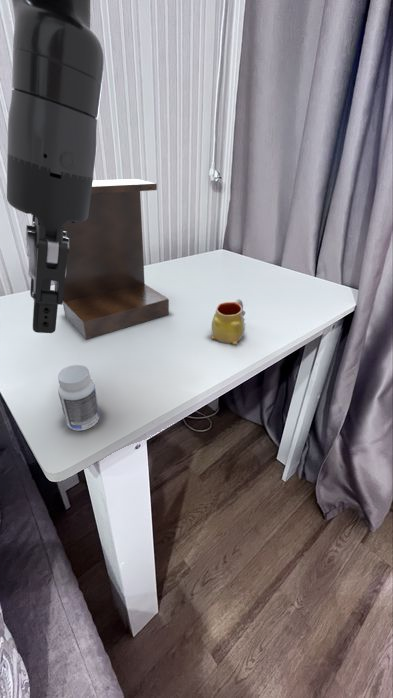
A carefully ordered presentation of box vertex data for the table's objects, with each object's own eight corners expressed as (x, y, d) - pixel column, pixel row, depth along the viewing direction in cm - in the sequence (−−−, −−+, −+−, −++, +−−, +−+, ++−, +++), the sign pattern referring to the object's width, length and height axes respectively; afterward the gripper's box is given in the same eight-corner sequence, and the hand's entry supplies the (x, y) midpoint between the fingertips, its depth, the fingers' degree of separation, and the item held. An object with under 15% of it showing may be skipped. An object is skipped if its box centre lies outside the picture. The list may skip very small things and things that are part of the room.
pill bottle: (106, 416, 49) (100, 370, 44) (81, 436, 46) (71, 389, 41) (84, 403, 51) (75, 359, 46) (58, 422, 48) (46, 375, 43)
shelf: (86, 339, 67) (61, 191, 52) (65, 316, 75) (38, 182, 60) (168, 314, 77) (168, 186, 63) (143, 296, 85) (136, 178, 70)
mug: (235, 348, 66) (239, 318, 63) (205, 339, 69) (207, 310, 65) (255, 324, 75) (259, 296, 72) (227, 316, 78) (230, 290, 74)
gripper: (9, 143, 35) (6, 285, 42) (5, 157, 24) (2, 344, 32) (82, 164, 39) (68, 292, 46) (107, 184, 28) (83, 346, 35)
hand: (41, 313), depth 39 cm, fingers open, 8 cm apart
